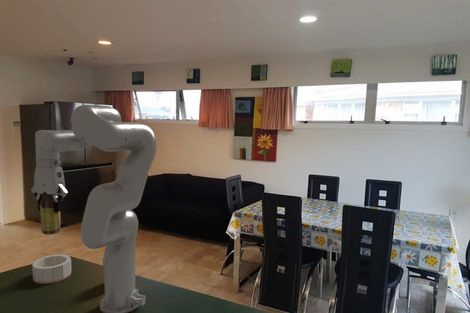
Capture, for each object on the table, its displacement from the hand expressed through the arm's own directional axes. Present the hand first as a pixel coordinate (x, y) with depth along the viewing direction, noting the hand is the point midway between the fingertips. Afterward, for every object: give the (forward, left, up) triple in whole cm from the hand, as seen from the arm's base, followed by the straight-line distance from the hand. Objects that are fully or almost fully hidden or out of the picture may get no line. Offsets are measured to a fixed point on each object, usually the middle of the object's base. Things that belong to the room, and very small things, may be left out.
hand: (49, 210), depth 121 cm
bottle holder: (0, 0, -26) cm, 26 cm away
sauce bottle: (0, 0, -9) cm, 9 cm away
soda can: (-26, -1, -26) cm, 37 cm away
